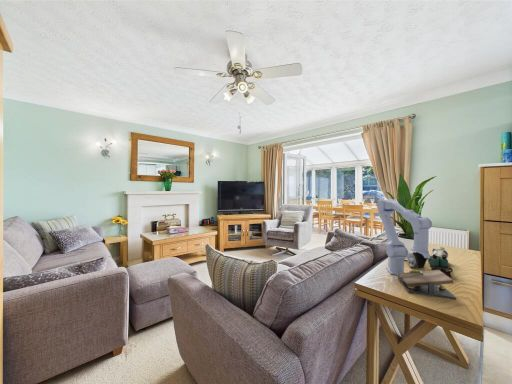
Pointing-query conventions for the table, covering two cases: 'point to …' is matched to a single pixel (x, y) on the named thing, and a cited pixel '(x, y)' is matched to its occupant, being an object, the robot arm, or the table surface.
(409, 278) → the instrument plate
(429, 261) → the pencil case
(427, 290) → the leveling stand
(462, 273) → the table surface
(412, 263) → the round bodied animal figurine
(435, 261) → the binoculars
